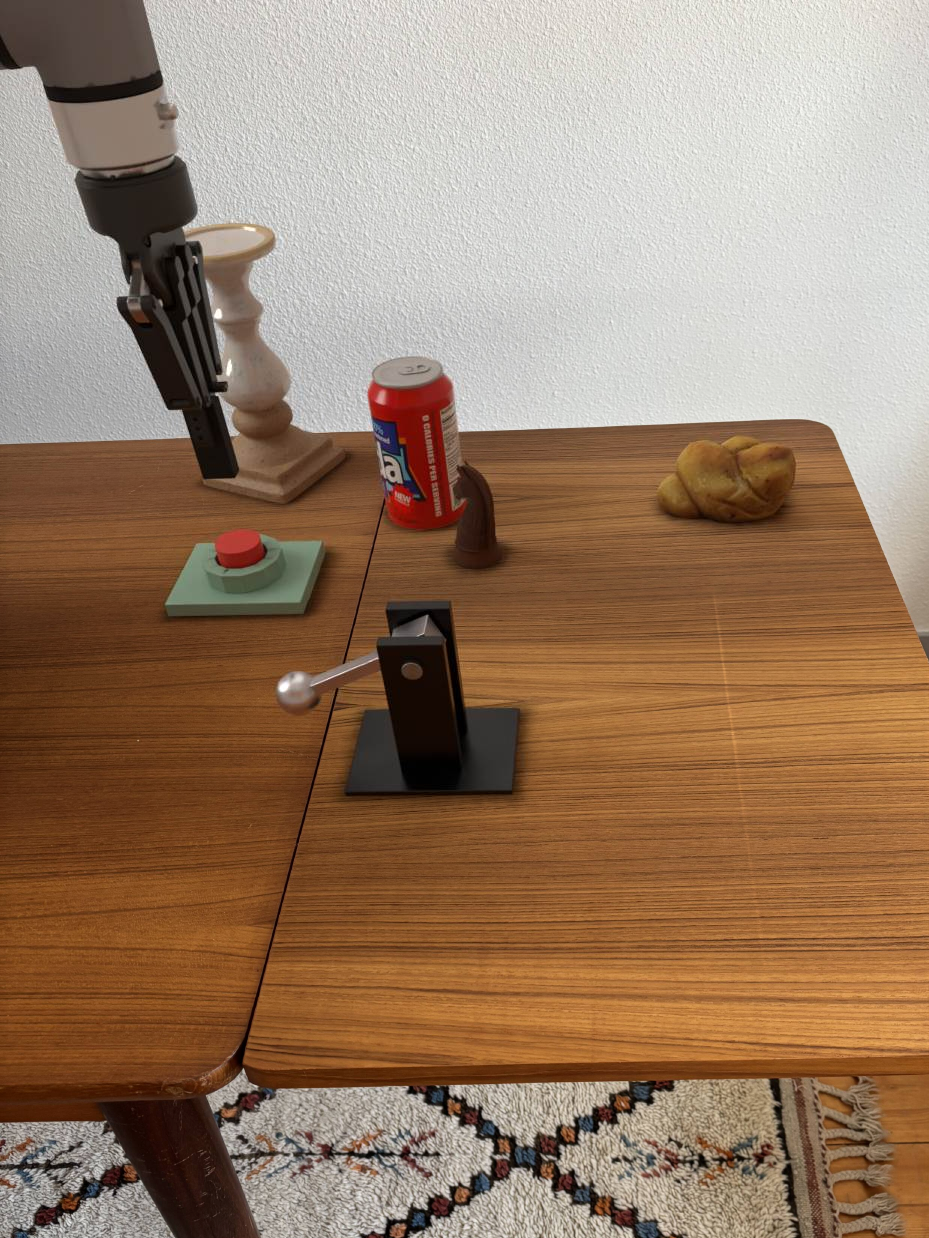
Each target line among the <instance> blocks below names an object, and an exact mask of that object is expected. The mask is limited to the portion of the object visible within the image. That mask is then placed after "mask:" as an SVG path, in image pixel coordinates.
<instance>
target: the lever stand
mask: <svg viewBox="0 0 929 1238" xmlns="http://www.w3.org/2000/svg"><path fill="white" fill-rule="evenodd" d="M452 605H453V604H452V600H407V601H406V600H404V601H401V600H400V601H387V602H386V605H385V609H384V611H385V617H386V621H387V622H386V623H387V626H388V633H389V636H378V637H377V640H376V644H375V649H376V650H377V654H378V658H379V663H380V668H381V670H380V672H381V677H382V683H383V687H384V692H385V698H386V702H387V707H388V708H387V709H383V708H382V709H365V710H364V713H363V717H362V721H361V724H360V728H359V733H358V737H357V741H356V743H355V749H354V752H353V756H352V760H351V765H350V769H349V772H348V776H347V780H346V784H345V789H344V796H345V797H389V796H390V797H393V796H394V797H396V796H397V797H398V796H406V797H407V796H408V797H409V796H487V795H488V796H492V795H493V796H503V795H504V796H505V795H507V796H508V795H514V785H515V774H516V773H515V772H516V763H517V751H518V740H519V739H518V738H519V727H520V717H521V709H520V707H477V708H476V707H473V708H472V707H471V708H466V701H465V693H464V686H463V680H462V672H461V665H460V664H461V663H460V657H459V650H458V644H457V643H458V642H457V636H456V635H457V634H456V627H455V621H454V615H453V613H454V612H453V606H452ZM425 615H429V617H430V618H431V620H432V621H433V622H434V624H435V625H436V626H437V628H438V629H439V631H440V632H441V633H442V635H443V636H406V637H392V633H393V629H395V628H397V627H399V626H402V625H404V624H406V623H409V622H411V621H413V620H416V619H418V618H420V617H423V616H425ZM445 639H446V643H445Z"/></svg>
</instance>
